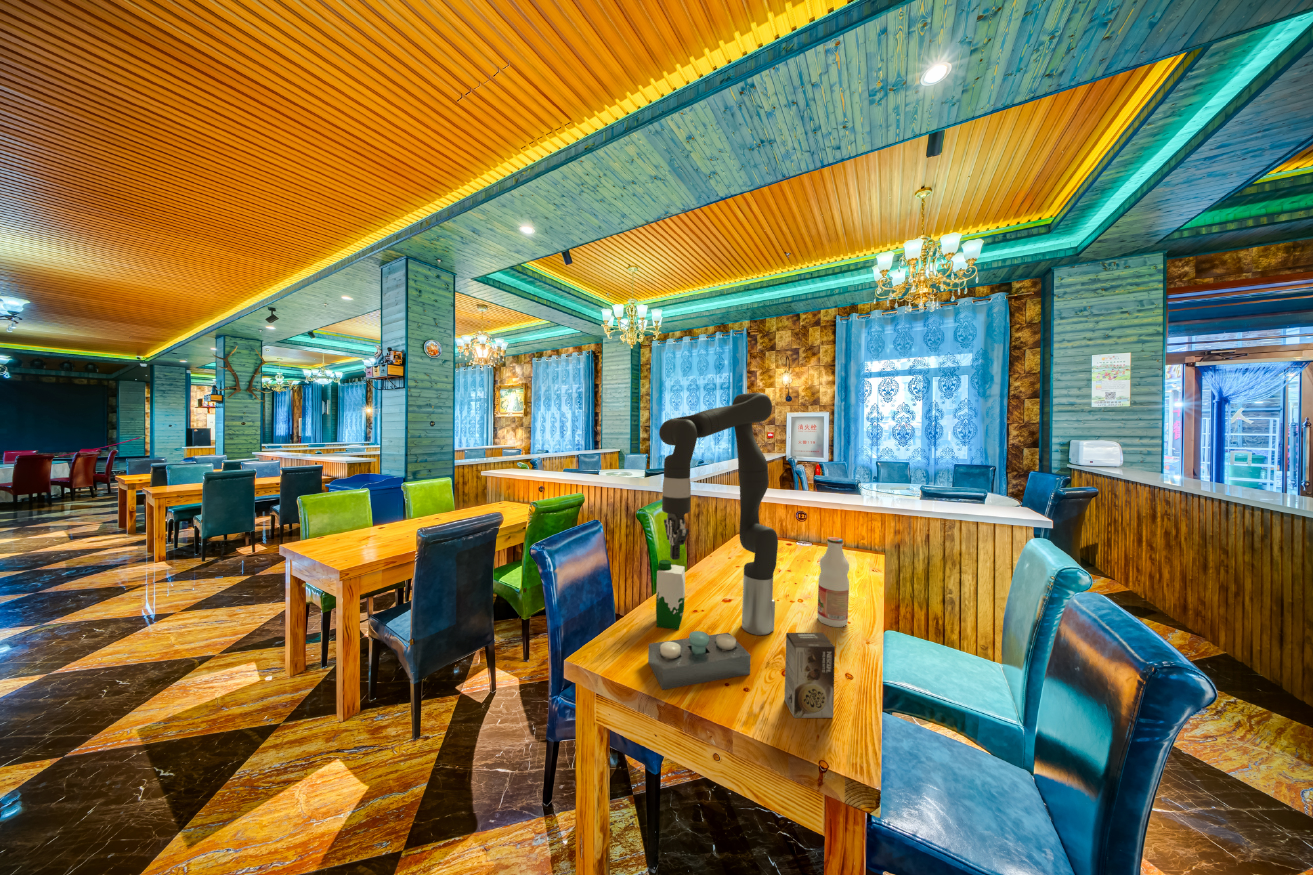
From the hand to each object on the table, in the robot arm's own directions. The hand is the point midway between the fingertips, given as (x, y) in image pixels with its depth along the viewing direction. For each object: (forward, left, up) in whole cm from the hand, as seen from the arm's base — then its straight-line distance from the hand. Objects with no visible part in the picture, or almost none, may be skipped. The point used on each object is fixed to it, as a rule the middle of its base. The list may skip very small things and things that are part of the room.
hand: (674, 558), depth 107 cm
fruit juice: (-61, -9, -29) cm, 68 cm away
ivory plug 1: (+2, +4, -28) cm, 28 cm away
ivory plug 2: (-14, +4, -28) cm, 31 cm away
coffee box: (-24, +25, -29) cm, 45 cm away
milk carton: (-7, -21, -29) cm, 36 cm away
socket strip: (-6, +4, -28) cm, 29 cm away
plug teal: (-6, +4, -26) cm, 27 cm away
